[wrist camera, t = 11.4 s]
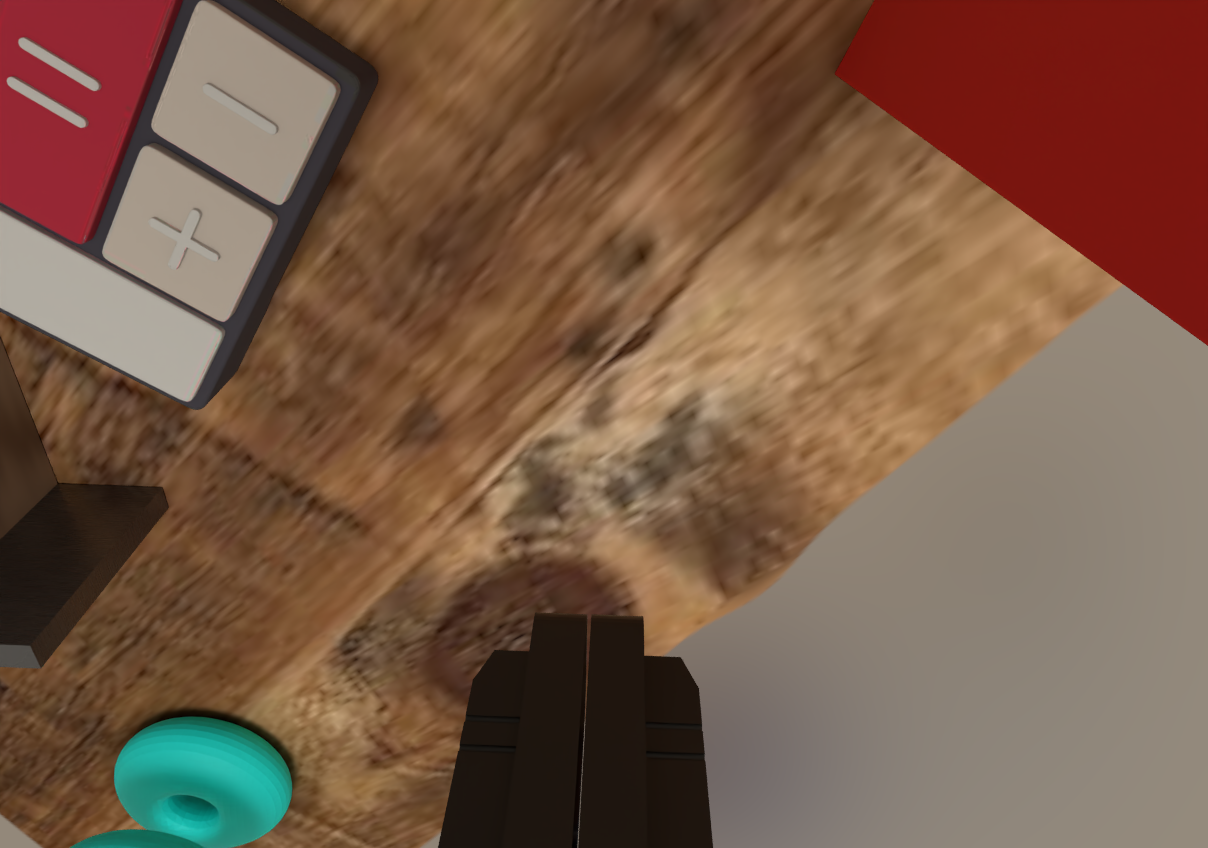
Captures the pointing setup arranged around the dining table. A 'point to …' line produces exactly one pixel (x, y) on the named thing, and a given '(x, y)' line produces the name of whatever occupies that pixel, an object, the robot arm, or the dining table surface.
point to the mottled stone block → (19, 453)
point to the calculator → (163, 174)
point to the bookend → (66, 562)
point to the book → (1065, 121)
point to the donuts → (197, 786)
